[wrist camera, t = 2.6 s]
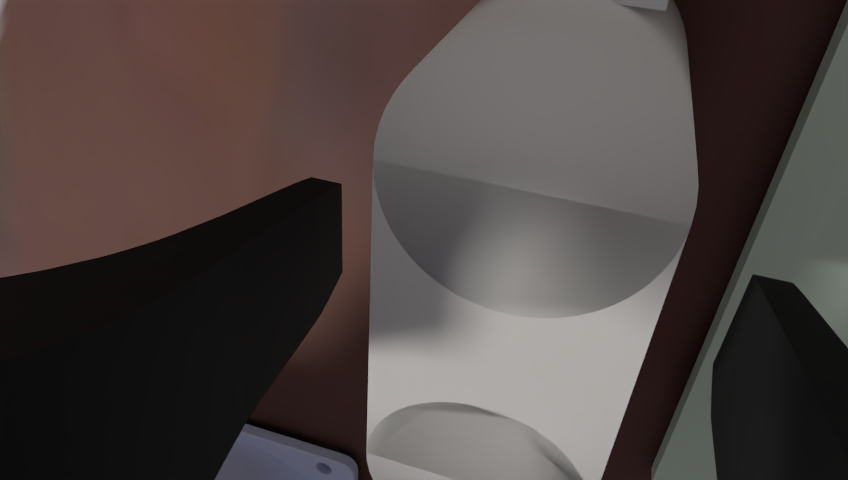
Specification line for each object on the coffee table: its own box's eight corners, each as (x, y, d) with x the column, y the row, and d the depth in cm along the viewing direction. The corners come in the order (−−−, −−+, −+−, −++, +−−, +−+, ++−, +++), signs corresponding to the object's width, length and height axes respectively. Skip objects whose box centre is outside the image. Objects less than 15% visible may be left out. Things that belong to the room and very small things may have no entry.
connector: (435, 350, 17) (364, 516, 13) (498, -261, 10) (385, -307, 6) (589, 392, 16) (564, 582, 12) (781, -244, 9) (872, -285, 5)
